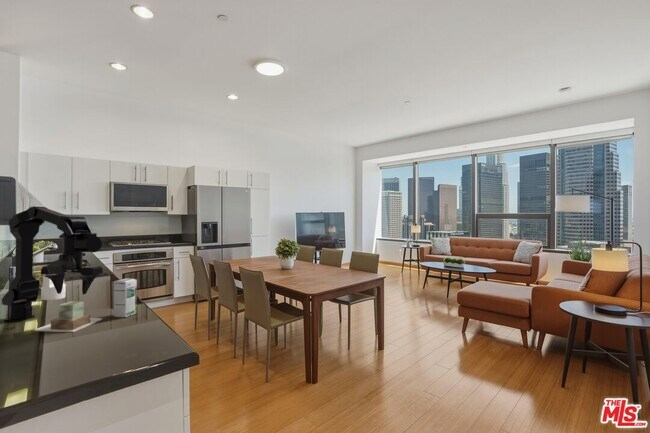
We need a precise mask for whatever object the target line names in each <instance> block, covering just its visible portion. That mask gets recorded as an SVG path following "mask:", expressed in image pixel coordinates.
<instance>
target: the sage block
mask: <svg viewBox="0 0 650 433" xmlns="http://www.w3.org/2000/svg"><path fill="white" fill-rule="evenodd" d="M84 308H85V301H71V300H70V301H67V302H64V303H61V304H59V305H58V318H59V319H71V320H73V319H75V318H78V317H80V316H83V315H84V311H85V309H84Z"/></svg>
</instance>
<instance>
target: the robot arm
mask: <svg viewBox="0 0 650 433" xmlns="http://www.w3.org/2000/svg"><path fill="white" fill-rule="evenodd" d="M45 222H47V223H50V224H52V225H55V226H56V228H57V229H58V230H59V231H61V232H62V233H61V234H59V236H58V238H59V239H62V253H61V254H59V255H58V259H56V260H54V261H52V262H51V263H49V264H47V265H45V266H42V267H41V269H40V275H42V276H43V275H44V276H45V277H48V278H49V279H51V281H52V282H53V284H54V287H55V289H56V291H57V293H58V294H60V293H61V291H62V288H63V282H64V283H65V276H66V273H68V274H69V273H73V274H74V273H75V274H77V273H78V274H80V275H82V276H79V278H80V279H81V280H82V281H81V282H82V285H81V286H82V287H81V291H82V295H86V294H87V292H88V291H89V289H90V287H91V285H92V283H93V282H94V281H95V279H96V278H97V277H98V276H100V275H101V274H103V273H104V272H103V267H102V265H89V266H86V264H85V263H83V260H84V259H83V257H86V253H96V252H99V251H100V250H101V248H102V246H103V242H102V239H101V238H100V237H99V236H98V233H97V232H93V229H92V228H91V227H90V225H89V222H88V221H87V218H86V217H85V216H82V215H81V216H79V215H70V214H69V215H68V214H64V213H61V212H58V211H55V210H53V209H50V208H48V207H45V206H35V205H33V206H30V207H29V208H27V209H26V210H23V211H21V212H18V213H16V214H15V215H14V216H12V217H11V218H10V219H9V220H8V226H9V232H10V234H11V235H12V236H13V237H14V239H15V271H14V272H15V275H14V277H13V279H12V280H11V281H10V283H9V285H8V291H7V292H6V293H5V294H4V295H3V297H2V298H1V304H2V306H7V318H3V320H7V322H21V321H24V320H27V319H30V318H33V317H35V315H36V314H33V305H32V302H35V301H37V300H38V296H39V293H40V289H41V288H40V280H39V279H36V277H34V274H33V273H34V238H35V237H36V236H37V234H38V233H39V231H40V227H41V225H43V224H44V223H45Z"/></svg>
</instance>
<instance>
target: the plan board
mask: <svg viewBox="0 0 650 433" xmlns="http://www.w3.org/2000/svg"><path fill="white" fill-rule="evenodd" d="M102 320H103V317H102V318H98V317H96V318H95V317H91V314H89V313H88V314H84V315H83V316H80V317H78V318H75V319H73V320H71V319H59V317H57V318H54V319H52V320H50V323H49V324H46V325H43V326H41V327H38V328H35V329H34V330H33V332H54V333H55V332H56V333H57V332H58V333H74V332H75V333H76V332H77V331H80V330H81V329H84V328H86V327H88V326H91V325H93V324H95V323H98V322H100V321H102Z"/></svg>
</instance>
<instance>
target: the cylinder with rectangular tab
mask: <svg viewBox="0 0 650 433" xmlns="http://www.w3.org/2000/svg"><path fill="white" fill-rule="evenodd" d="M42 278H43V279H42V285H41V288H40V289H41V291H40V300H42V301H55V300H60V299H64V298H66V292H67V290H66V289H67V284H66V283H65V281H64V282H63V288H62V291H61V293H60V294H58V293H57V291H56V289H55V287H54V284H53V282H52V281H51V279H49V278H48V277H45V276H44V275H42Z"/></svg>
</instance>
